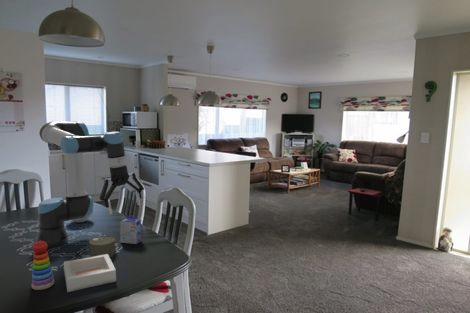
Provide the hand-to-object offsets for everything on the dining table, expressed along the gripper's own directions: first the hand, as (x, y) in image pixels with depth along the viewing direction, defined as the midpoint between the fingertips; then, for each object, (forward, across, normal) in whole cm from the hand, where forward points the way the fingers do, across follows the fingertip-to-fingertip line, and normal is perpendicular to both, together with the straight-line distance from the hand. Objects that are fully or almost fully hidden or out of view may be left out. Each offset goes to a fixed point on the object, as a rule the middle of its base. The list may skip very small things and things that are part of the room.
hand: (125, 209), depth 154 cm
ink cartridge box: (+26, +6, +20) cm, 33 cm away
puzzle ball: (+25, -8, +70) cm, 75 cm away
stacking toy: (+19, -39, -7) cm, 44 cm away
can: (+24, -11, +12) cm, 29 cm away
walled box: (+21, -22, -10) cm, 32 cm away
